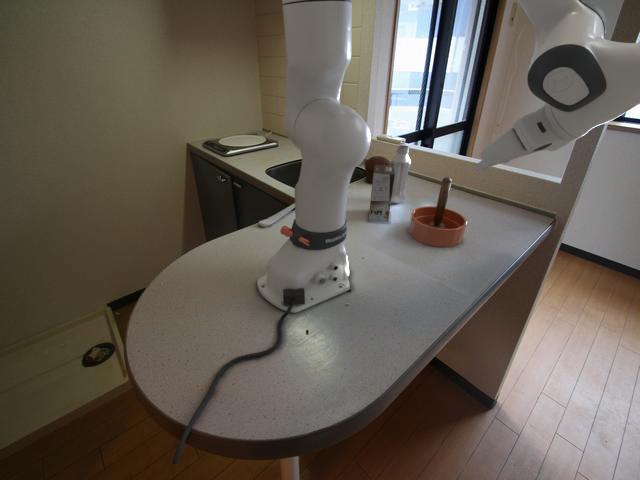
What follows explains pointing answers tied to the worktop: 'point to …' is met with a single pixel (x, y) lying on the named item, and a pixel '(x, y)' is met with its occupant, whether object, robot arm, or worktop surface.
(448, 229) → the bowl
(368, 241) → the worktop surface
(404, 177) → the plastic bottle
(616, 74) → the robot arm
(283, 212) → the spoon
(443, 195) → the stirring stick
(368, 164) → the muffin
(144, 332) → the worktop surface
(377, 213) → the coffee box
